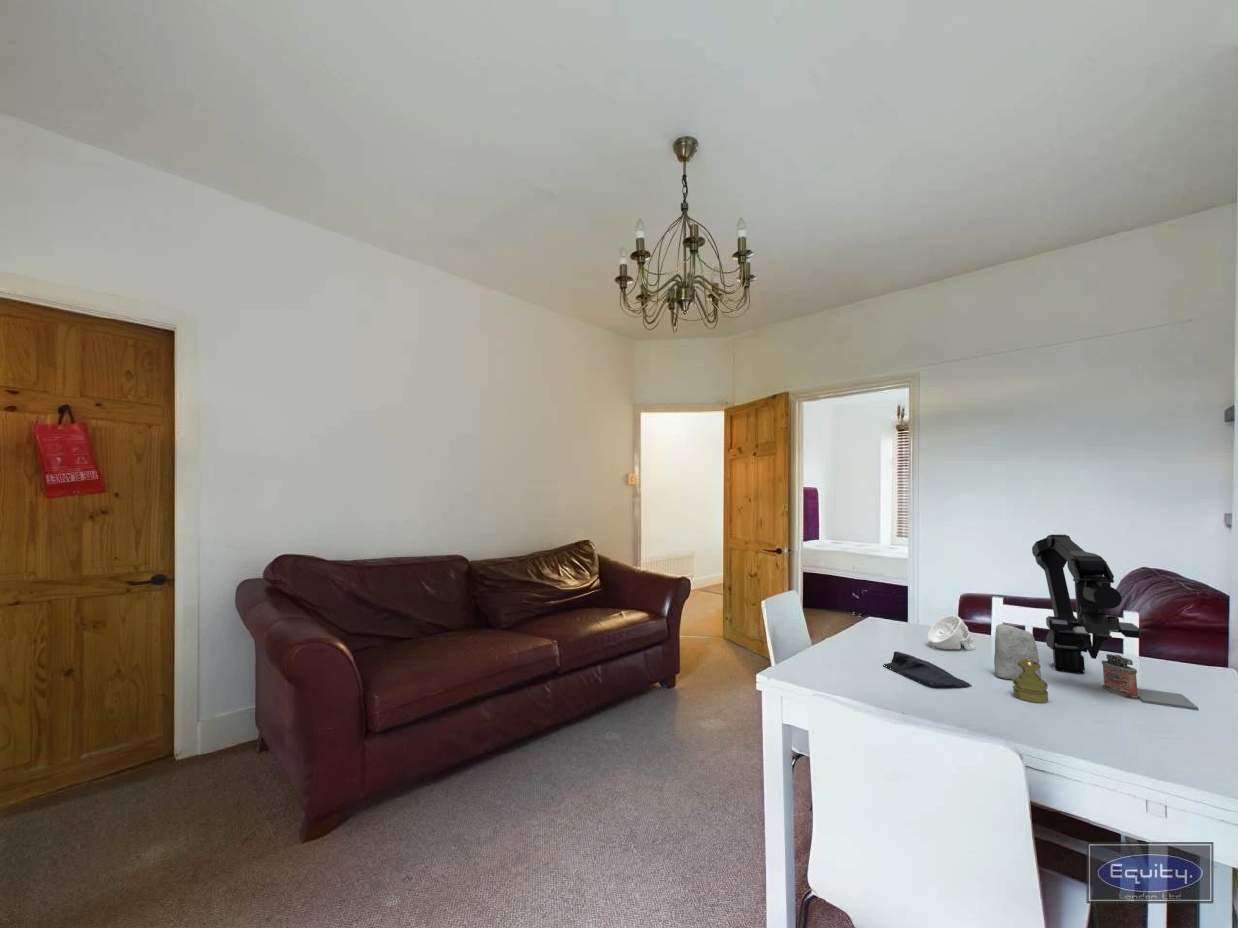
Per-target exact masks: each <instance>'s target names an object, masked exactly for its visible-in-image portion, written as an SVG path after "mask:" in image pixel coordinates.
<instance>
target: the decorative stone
mask: <svg viewBox="0 0 1238 928" xmlns="http://www.w3.org/2000/svg"><path fill="white" fill-rule="evenodd" d="M994 635H995V636H994V659H993V663H994V664H993V665H994V674H995V677H998V678H1001V679H1006V680H1012V678H1013V677H1014V676H1017V675H1018V674H1020V673H1021V672H1022V671H1023V670H1022V668H1021V667H1020V666H1019V665H1018V664H1017V661H1019V660H1024V659H1031V660H1033V661H1034V662H1037V663H1038V664H1040V659H1039V652H1038V647H1037V643H1036V640H1035V637H1034V635H1033V634H1032V633H1031V632H1030V631H1028V630H1024V629H1021V628H1018V627H1016V626H1012V625H1008V624H1004V623H1003V624H1002V623H999V624H997V625H996V627H995V634H994ZM1035 673H1036V674H1037V675H1038V676H1039V677H1040V678H1041V679H1042V672H1041V667H1040V668H1039V669H1037V670H1036V672H1035Z"/></svg>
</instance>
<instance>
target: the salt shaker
mask: <svg viewBox="0 0 1238 928" xmlns="http://www.w3.org/2000/svg"><path fill="white" fill-rule="evenodd" d="M1017 664H1018V665H1019V666H1020V667H1021V668H1022V670H1023V671H1022V672H1021V673H1020V674H1018V675H1017V676H1014V677H1013V678H1012V679H1011V681H1012V684H1013V685H1012V691H1013V692H1012V693H1013V695H1014V697H1016V698H1018V699H1019V700H1023V701H1026V702H1029V703H1037V704H1038V703H1039V704H1041V703H1043V704H1044V703H1048V702H1049V692H1048V691H1047V690H1048V685H1049V684H1048V683H1047V682H1046V681H1045V680H1044V679H1042V677H1041V678H1040V677H1039V676H1038V675H1037V674H1036V673H1035V672H1036V670H1037V669H1039V668H1040V669H1041V664H1040V663H1039V664H1038V663H1037V662H1034V661H1033V660H1031V659H1024V660H1019V661H1017Z"/></svg>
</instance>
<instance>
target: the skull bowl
mask: <svg viewBox="0 0 1238 928" xmlns="http://www.w3.org/2000/svg"><path fill="white" fill-rule="evenodd" d="M926 636H927V637H926V638H927V640H928V642H929V643H930V644H931V645H932V646H934V647H935V648H937V649H939V650H944V649H945V650H947V649H949V650H961V648H962V647H963V648H964V649H965V650H966V651H974V650H975V649H976V646H975V645H974V639H975V638H974V636H973V635H972V633H971V632H970V631H969V627H968V626H967V624H965V622H964V620H963V619H962V618H961V617H959V616H958V615H955V614H948V615H946V616H944V617H942V618H940V619H939V620H938V621H936V622H934V624H933V625H932V626H931V627H930V628H929V630H928V633H927V635H926ZM973 649H974V650H973Z"/></svg>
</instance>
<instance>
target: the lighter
mask: <svg viewBox="0 0 1238 928" xmlns="http://www.w3.org/2000/svg"><path fill="white" fill-rule="evenodd" d="M1106 659H1107V660H1101V665H1102V668H1103V670H1102V673H1103V685H1102V686H1103V689H1104V691H1107V692H1108V693H1112V694H1115V695H1117V696H1121V697H1122V698H1125V699H1130V700H1135V701H1137V700H1140V699H1139V695H1138V693H1137V688H1138V681H1137V674H1138V670H1137V669H1136V668H1133V667H1132V666H1133V665H1134V661H1133V660H1132V659H1130V658H1126V657H1122V655H1120V654H1110V653H1107V654H1106Z"/></svg>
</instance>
